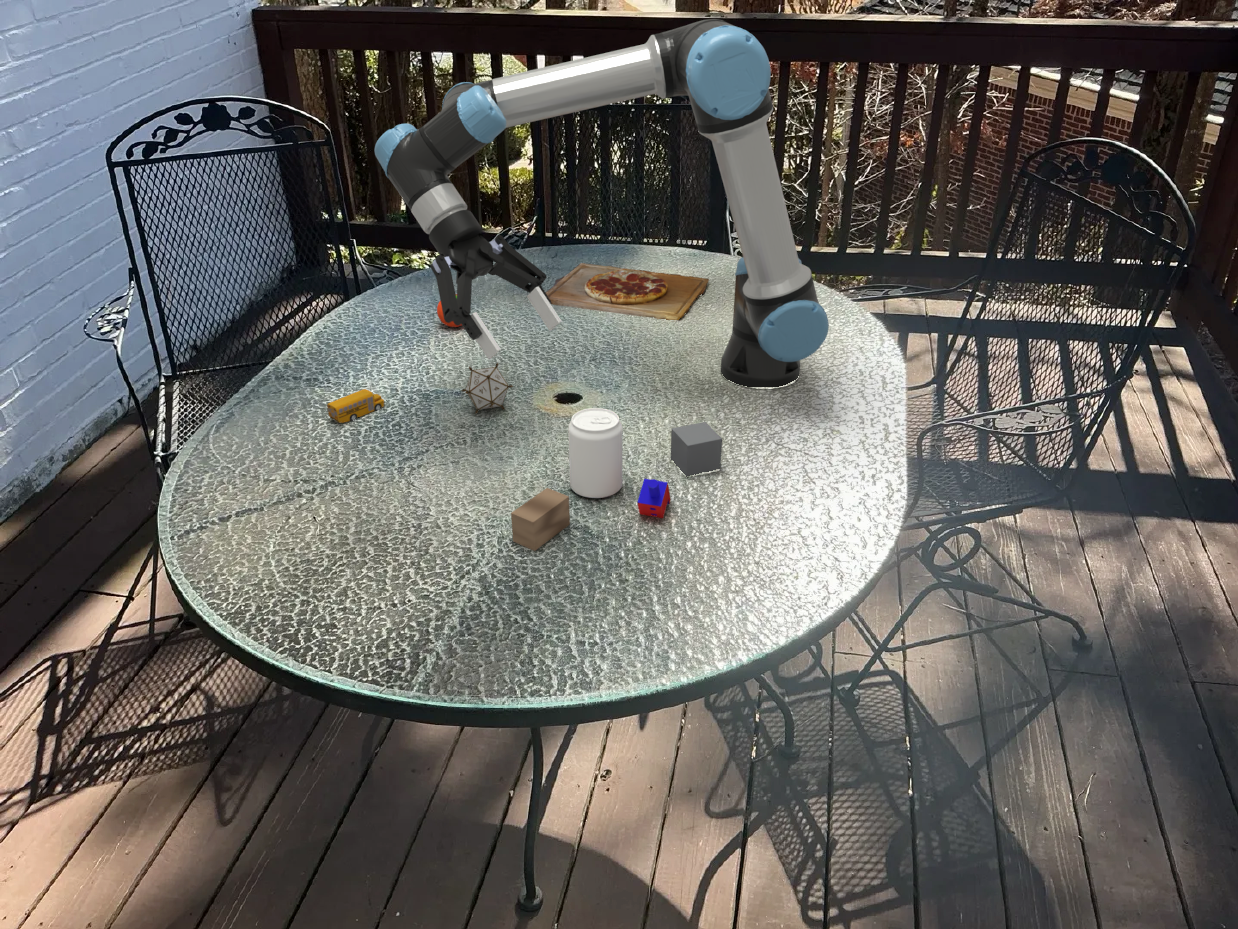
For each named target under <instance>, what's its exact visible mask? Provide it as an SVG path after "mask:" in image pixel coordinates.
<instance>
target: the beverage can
mask: <svg viewBox="0 0 1238 929" xmlns="http://www.w3.org/2000/svg"><path fill="white" fill-rule="evenodd" d="M570 419H571V420H570V422H569V424H568V427H567V428H568V429H567V430H568V432H567V433H568V458H569V460H568V461H569V462H568V463H569V485H570V488H571V490H572V491H573V492H575V494H577V495H579V496H582V497H585V498H590V499H591V498H592V499H601V498H602V499H603V498H607V497H610V496H612V495H614V494H616V493H618V492H619V491H620V490H621V489H622V486H623V424H622V422H621V421H620V417H619V415H618V413H616V412H614V411H613V410H611V409H606V408H602V407H591V408H589V407H588V408H585V409H581V410H579V411H577V412H575V413H574V414H573V415H572V416H571V418H570Z"/></svg>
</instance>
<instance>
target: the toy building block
mask: <svg viewBox="0 0 1238 929" xmlns="http://www.w3.org/2000/svg"><path fill="white" fill-rule="evenodd" d="M641 485H642V486H641V489H640V490H639V491H640V492H639V495H638V499H637V502H636V503H637V508H638V512H639V515H642V516H648V517H655V518H659V519H664V518H665V517H664V516H665V513H666V510H667V507H668V506H667V505H668V504H671V495H670V488H669V482H668V481H662V480H657V479H655V478H651V479H650V478H643V482H642V484H641Z"/></svg>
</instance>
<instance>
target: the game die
mask: <svg viewBox="0 0 1238 929" xmlns="http://www.w3.org/2000/svg"><path fill="white" fill-rule="evenodd" d="M499 364H500V363H499V362H496V364H495V366H494V367H493V366H492V367H485V368H478V369H473V368H472V366H468V370H469V371H470V374H469V377H468V380H467V384H466V386H465V388H462V389H461V390H460V391H461V392H462V393H465V394H466V395H467V396H468V397H469V399H470V400H471V402H472V404H473V405H474V407H475V412H474V413H475V415H477V414H478V413H479V410H481V411H482V410H487V409H494V408H501V409H502V410H505V409H506V408H505V406H504V405H503V404H504V401H505V398H506V396H507V393H508V390H509V389H512V388H513V387H514V385H512V384H508V382H507V381H506V380H505V378H504V377H503V375H502V373H501V371H500V370H499V368H498V367H499Z"/></svg>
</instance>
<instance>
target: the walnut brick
mask: <svg viewBox="0 0 1238 929" xmlns="http://www.w3.org/2000/svg"><path fill="white" fill-rule="evenodd" d="M510 517H511V518H510V519H511V530H512V532H511V533H512V542H514V543H516V544H518V545H520V546H523V547H525V548H527V549H529V550H532V551H534V552H536V551H537V550H538V549H540V548H541V547H543V545H545V544H546V543H548V542H549V541H550V540H551V539H553V538H554V537H555V536H557V535H558V534H559V533H560V532H562V531H563V530H564V529H566V528H568V526H570V524H571V523H570V521H571V520H570V517H571V516H570V497H569V495H566V494H564V493H561V492H559V491H556V490H553V489H551V488H549V487H546V488H545V489H542V491H540V492H539V493H537V494H536V495H535V496H533V497H532V498H530V499H529V500H527V501H526V502H525V503H523V504H521V505H520V506H518V508H516V509H515V510H513V511H512V512H511V513H510Z"/></svg>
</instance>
